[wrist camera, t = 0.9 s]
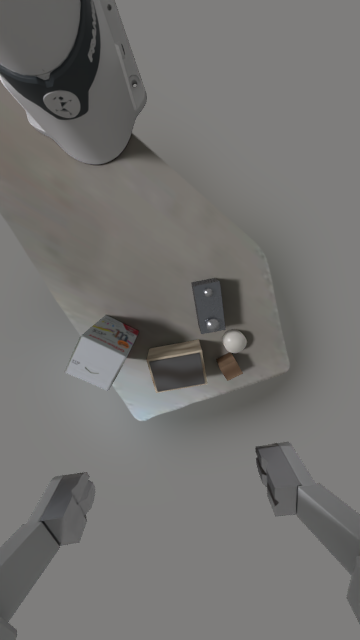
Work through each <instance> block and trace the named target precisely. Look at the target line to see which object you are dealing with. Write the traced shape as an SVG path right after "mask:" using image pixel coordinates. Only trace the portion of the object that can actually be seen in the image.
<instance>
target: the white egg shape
mask: <svg viewBox="0 0 360 640" xmlns="http://www.w3.org/2000/svg"><path fill="white" fill-rule="evenodd" d="M222 342H223V344H224V346H225V348H226V349H227V350H228V351H229V352H231V353H238V352H241V351H242V350H243V349H244V348H245V347H246V344H247V340H246V338H245V336H244V335H243V334H242V333H241V332H240V331H239V330H236V329H231V330H229V331H227V332H226V333H225V334H224V335H223V338H222Z"/></svg>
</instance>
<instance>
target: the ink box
mask: <svg viewBox="0 0 360 640" xmlns="http://www.w3.org/2000/svg"><path fill="white" fill-rule="evenodd" d="M138 333H139V331H138V330H136V329H134V328H132V327H130V326H128V325H126V324H124V323H122V322H120V321H117V320H115V319H113V318H111V317H109V316H107V315H105V316H104V317H103V318H101V319H100V320H99V321H98V322H97V323H96V324H94V325H93V326H92V327H91V328H90V329H88V330H87V331H86V332H85V333H84V334H83V335H81V337H80V338H79V340H78V342H77V344H76V346H75V349H74V351H73V353H72V355H71V358H70V360H69V362H68V365H67V367H66V369H65V373H67V374H70V375H72V376H74V377H76V378H79V379H81V380H83V381H86V382H88V383H90V384H93V385H95V386H97V387H100V388H102V389H104V390H107V391H108V390H109V389H110V387H111V385H112V384H113V382H114V380H115V379H116V377H117V375H118V373H119V371H120V369H121V368H122V366H123V364H124V362H125V360H126V358H127V356H128V354H129V352H130V350H131V348H132V346H133V344H134V342H135V340H136V337H137V335H138Z"/></svg>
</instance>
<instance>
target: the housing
mask: <svg viewBox="0 0 360 640" xmlns="http://www.w3.org/2000/svg"><path fill="white" fill-rule="evenodd" d="M191 284H192V290H193V296H194V301H195V307H196V313H197V319H198V325H199V328H200V331H201V334H204V333H210V332H215V331H221V330H225V322H224V313H223V304H222V296H221V287H220V281H219V280H217V279H215V278H212V279H207V280H202V281H197V282H192V283H191Z"/></svg>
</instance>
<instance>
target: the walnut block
mask: <svg viewBox="0 0 360 640" xmlns="http://www.w3.org/2000/svg"><path fill="white" fill-rule="evenodd" d="M216 360H217V363H218V365H219V368H220V370H221V371H222V373H223V374H224V376H225V378H226V379H227V381H228V380H230V379H232V378H234V377H236V376H239V375H241V374H243V373H242V371H241V369H240V367H239V365H238V364H237V362H236V360H235V358H234V357H233V355H232V353H231V352H230V353H228V354H226V355H224V356H222V357H220V358H218V359H216Z"/></svg>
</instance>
